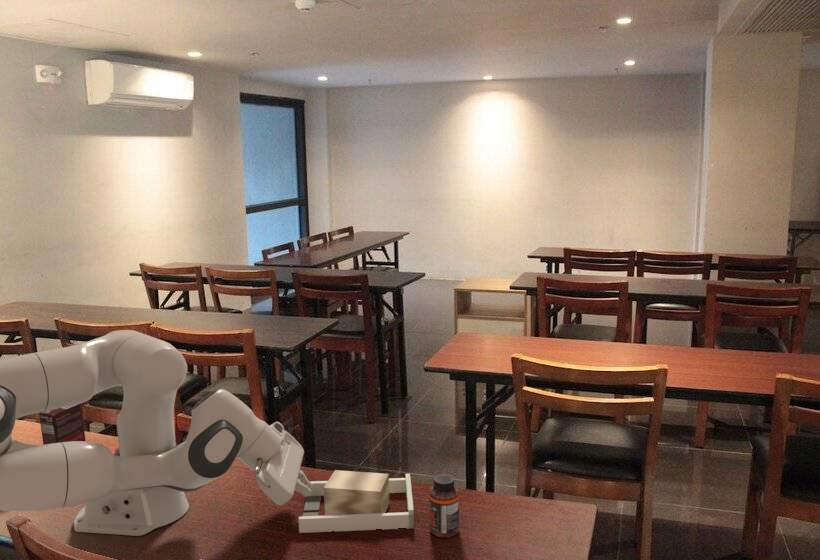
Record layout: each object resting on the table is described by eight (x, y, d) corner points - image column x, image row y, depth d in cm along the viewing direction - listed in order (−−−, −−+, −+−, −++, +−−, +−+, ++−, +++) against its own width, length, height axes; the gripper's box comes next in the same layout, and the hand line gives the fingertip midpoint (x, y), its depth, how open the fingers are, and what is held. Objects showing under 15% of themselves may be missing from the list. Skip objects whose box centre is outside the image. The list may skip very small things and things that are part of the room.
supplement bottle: (424, 527, 139) (423, 475, 137) (450, 520, 141) (450, 469, 139) (437, 542, 134) (436, 488, 131) (464, 535, 136) (464, 481, 134)
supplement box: (74, 460, 173) (67, 400, 170) (89, 463, 171) (82, 402, 168) (45, 475, 165) (37, 412, 162) (60, 478, 163) (53, 414, 160)
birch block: (325, 518, 143) (323, 487, 142) (336, 499, 151) (334, 470, 150) (381, 523, 141) (380, 491, 140) (389, 503, 149) (388, 473, 147)
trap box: (299, 532, 138) (298, 514, 137) (307, 494, 153) (306, 477, 153) (413, 528, 139) (413, 509, 138) (410, 490, 154) (409, 473, 154)
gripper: (263, 463, 132) (315, 509, 134) (279, 418, 152) (324, 458, 154) (240, 484, 133) (292, 529, 135) (260, 436, 153) (305, 476, 155)
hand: (309, 491), depth 145 cm, fingers closed
